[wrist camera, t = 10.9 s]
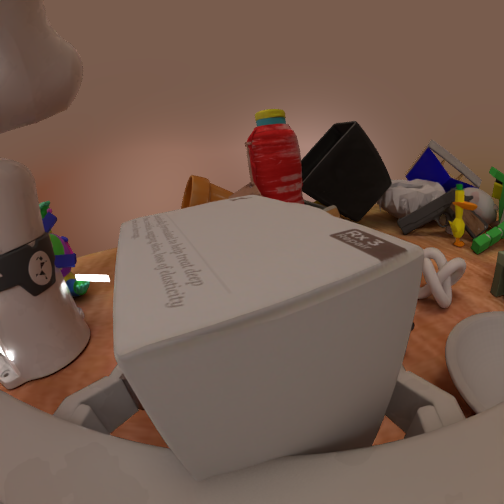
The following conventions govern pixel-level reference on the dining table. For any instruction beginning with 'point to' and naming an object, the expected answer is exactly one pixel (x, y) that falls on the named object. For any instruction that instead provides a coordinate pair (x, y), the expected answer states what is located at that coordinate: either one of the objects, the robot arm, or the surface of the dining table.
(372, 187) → the flower pot
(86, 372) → the dining table surface
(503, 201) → the toy
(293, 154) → the water bottle
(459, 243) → the toy figure
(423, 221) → the handgun
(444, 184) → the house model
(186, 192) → the flower pot
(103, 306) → the dining table surface
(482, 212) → the toy
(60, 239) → the figurine
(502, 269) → the shelf
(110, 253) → the dining table surface
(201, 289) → the cosmetic box
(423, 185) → the bowl
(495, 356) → the dish
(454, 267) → the knot
